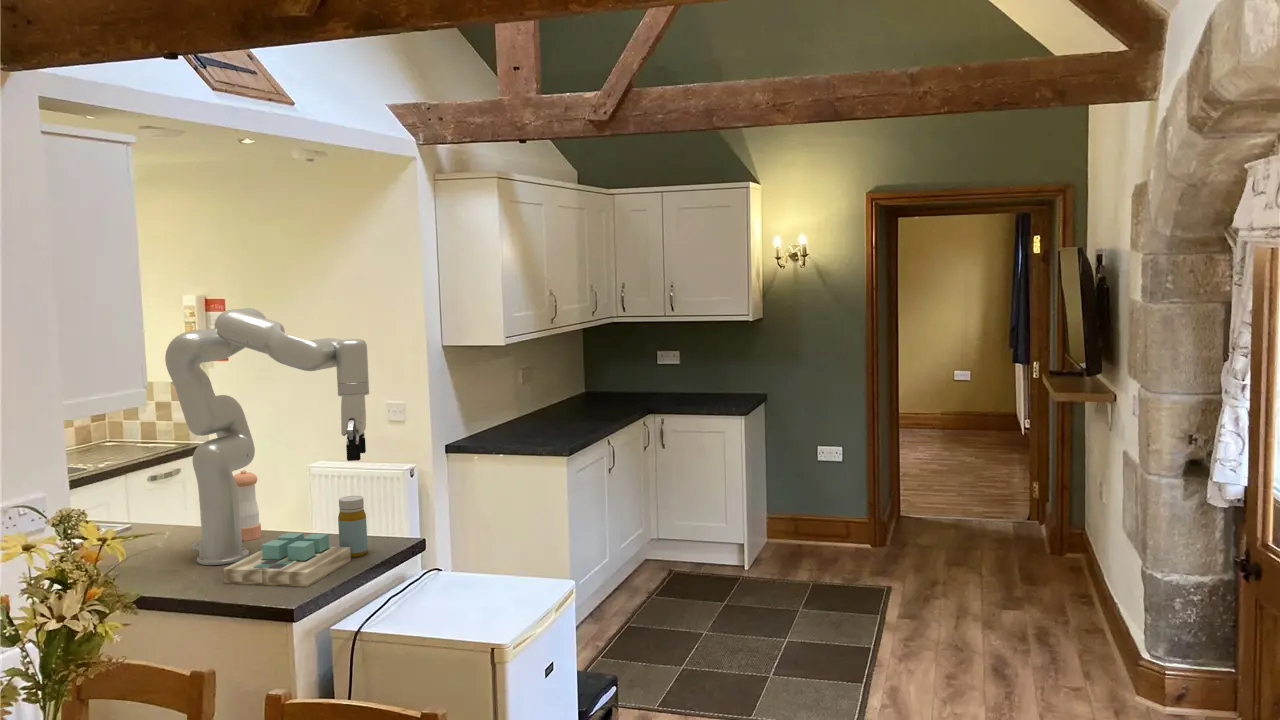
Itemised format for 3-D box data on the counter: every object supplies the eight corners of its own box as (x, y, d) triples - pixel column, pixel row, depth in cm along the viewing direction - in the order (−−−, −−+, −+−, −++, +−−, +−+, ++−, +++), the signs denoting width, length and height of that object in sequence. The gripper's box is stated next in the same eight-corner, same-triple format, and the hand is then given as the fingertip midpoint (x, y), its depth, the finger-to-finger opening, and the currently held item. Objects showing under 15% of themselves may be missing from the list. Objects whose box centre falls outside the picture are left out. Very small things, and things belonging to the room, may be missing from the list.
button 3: (288, 559, 246) (287, 546, 245) (298, 554, 250) (297, 540, 250) (305, 560, 245) (304, 546, 244) (314, 555, 249) (314, 541, 249)
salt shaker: (265, 537, 282) (261, 470, 280) (239, 542, 277) (235, 474, 275) (255, 532, 287) (251, 466, 285) (229, 537, 282) (225, 470, 280)
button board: (224, 583, 240) (223, 567, 240) (273, 557, 261) (272, 542, 261) (307, 586, 236) (306, 570, 236) (350, 560, 256) (350, 545, 256)
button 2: (278, 550, 254) (277, 537, 254) (288, 545, 258) (287, 532, 258) (294, 551, 253) (293, 538, 253) (304, 546, 257) (303, 533, 257)
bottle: (360, 558, 258) (357, 501, 257) (335, 557, 259) (332, 501, 258) (372, 551, 265) (369, 495, 263) (348, 550, 266) (345, 495, 265)
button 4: (303, 551, 252) (302, 538, 252) (312, 546, 257) (312, 533, 257) (319, 552, 251) (319, 538, 251) (329, 547, 256) (328, 533, 256)
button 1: (262, 558, 247) (261, 545, 247) (273, 553, 252) (272, 540, 251) (279, 559, 246) (278, 545, 246) (289, 554, 251) (288, 540, 250)
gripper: (343, 385, 256) (346, 451, 258) (332, 393, 239) (335, 464, 241) (373, 384, 258) (376, 449, 259) (364, 392, 240) (367, 462, 242)
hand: (356, 456), depth 250 cm, fingers open, 9 cm apart
